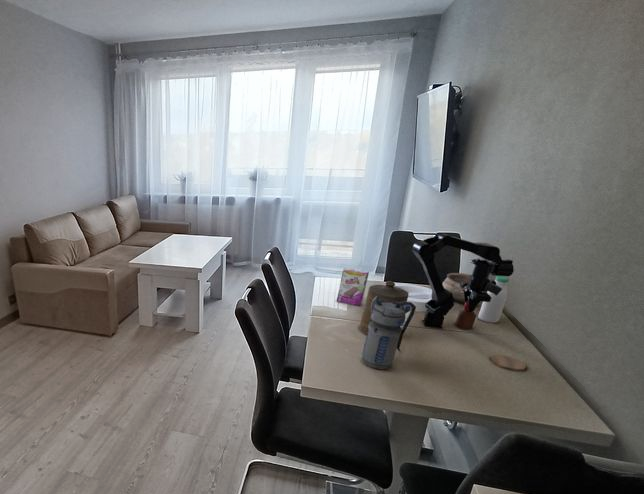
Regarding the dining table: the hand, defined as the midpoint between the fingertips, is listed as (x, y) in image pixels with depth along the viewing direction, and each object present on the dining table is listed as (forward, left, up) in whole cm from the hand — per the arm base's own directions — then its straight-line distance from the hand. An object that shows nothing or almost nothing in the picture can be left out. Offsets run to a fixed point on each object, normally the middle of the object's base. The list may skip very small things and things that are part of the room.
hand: (468, 310), depth 176 cm
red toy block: (0, 0, 0) cm, 0 cm away
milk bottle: (+13, +13, -8) cm, 20 cm away
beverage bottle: (-39, -49, -8) cm, 63 cm away
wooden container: (-36, -19, -8) cm, 41 cm away
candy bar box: (-46, +12, -8) cm, 48 cm away
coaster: (+6, -32, -8) cm, 33 cm away
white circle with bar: (-17, +26, -8) cm, 32 cm away
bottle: (0, 0, -8) cm, 8 cm away
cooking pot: (+8, +35, -8) cm, 37 cm away
